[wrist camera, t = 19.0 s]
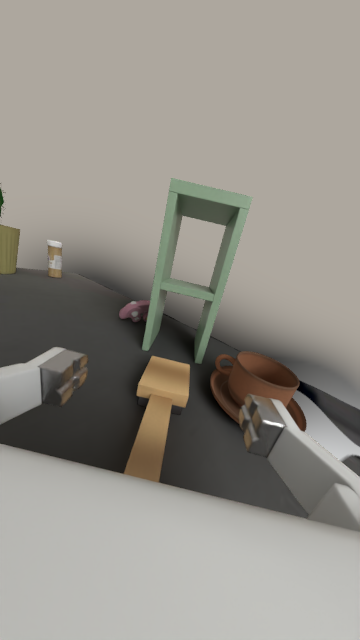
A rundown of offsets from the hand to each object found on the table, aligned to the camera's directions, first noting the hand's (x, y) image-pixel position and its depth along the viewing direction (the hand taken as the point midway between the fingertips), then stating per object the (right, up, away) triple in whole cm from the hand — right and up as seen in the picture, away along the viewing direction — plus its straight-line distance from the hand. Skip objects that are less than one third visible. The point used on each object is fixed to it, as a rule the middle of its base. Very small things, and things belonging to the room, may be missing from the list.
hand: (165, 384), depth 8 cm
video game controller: (-10, +3, +34) cm, 36 cm away
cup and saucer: (+10, -9, +15) cm, 20 cm away
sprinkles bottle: (-50, +21, +59) cm, 80 cm away
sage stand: (0, -2, +26) cm, 26 cm away
